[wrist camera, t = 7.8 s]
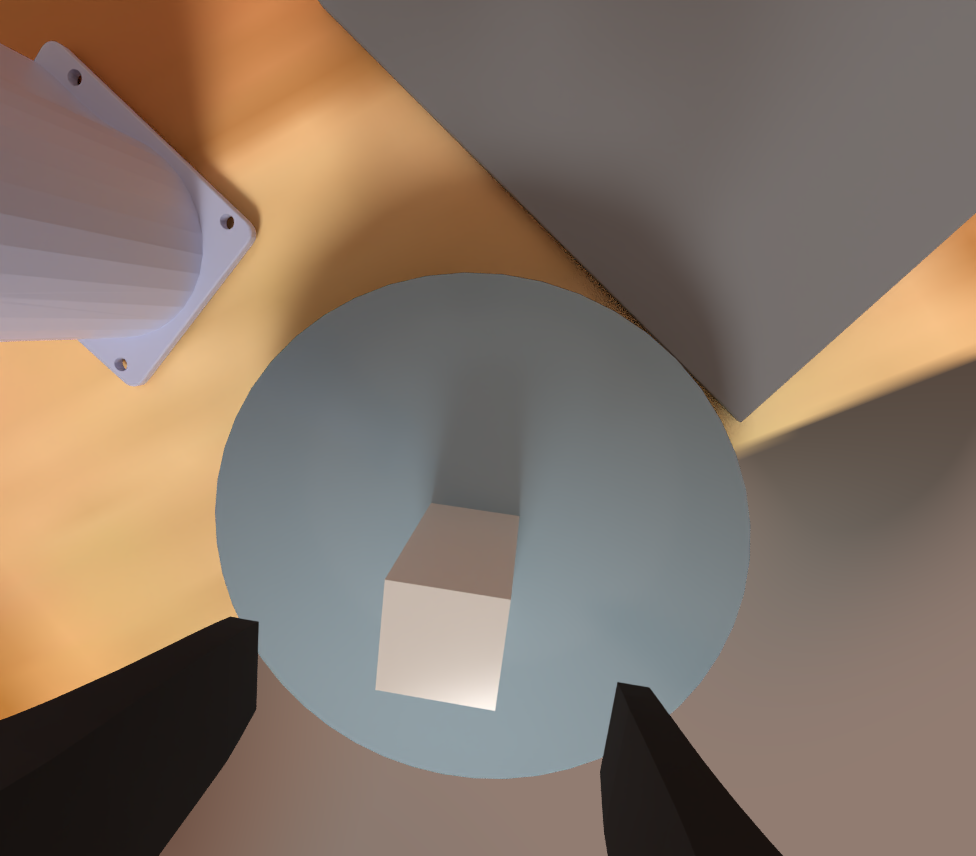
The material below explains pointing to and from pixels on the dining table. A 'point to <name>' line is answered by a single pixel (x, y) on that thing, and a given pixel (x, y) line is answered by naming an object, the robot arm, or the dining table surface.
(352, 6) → the mat
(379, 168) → the dining table surface
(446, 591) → the lid
